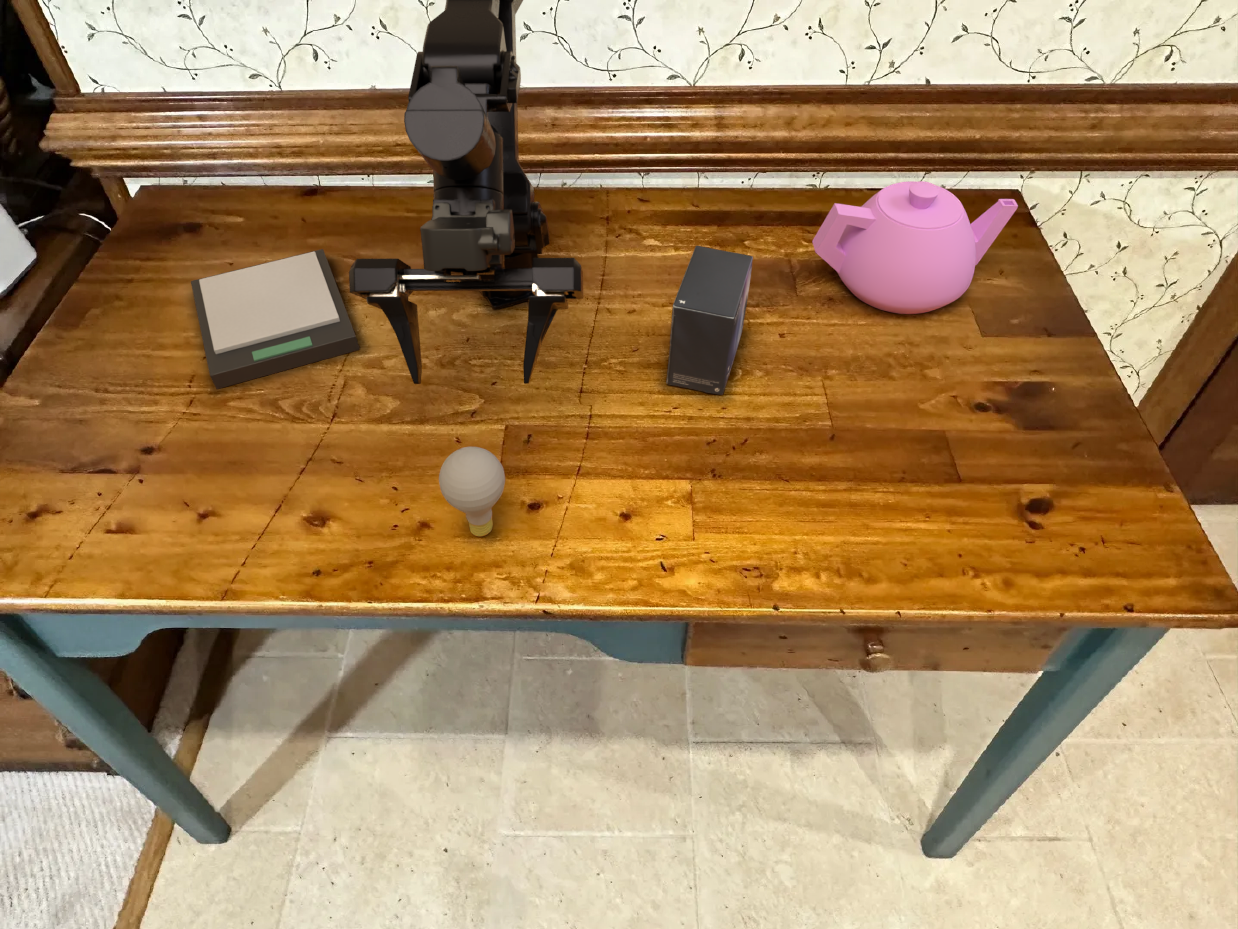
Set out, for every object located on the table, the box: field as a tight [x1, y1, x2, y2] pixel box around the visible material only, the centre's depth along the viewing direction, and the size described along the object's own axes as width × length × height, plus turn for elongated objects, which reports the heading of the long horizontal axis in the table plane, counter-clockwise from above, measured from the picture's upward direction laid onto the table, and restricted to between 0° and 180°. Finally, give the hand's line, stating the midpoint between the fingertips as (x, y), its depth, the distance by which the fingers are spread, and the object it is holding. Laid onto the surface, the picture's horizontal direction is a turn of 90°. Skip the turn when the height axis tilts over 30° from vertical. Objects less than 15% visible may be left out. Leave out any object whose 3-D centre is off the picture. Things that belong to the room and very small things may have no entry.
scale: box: [190, 248, 360, 390], centre depth 97 cm, size 15×17×3 cm
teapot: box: [811, 180, 1019, 315], centre depth 98 cm, size 22×16×12 cm
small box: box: [665, 245, 754, 396], centre depth 90 cm, size 11×6×10 cm, turn 164°
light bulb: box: [438, 446, 506, 537], centre depth 75 cm, size 6×6×10 cm
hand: (472, 383), depth 74 cm, fingers open, 9 cm apart
